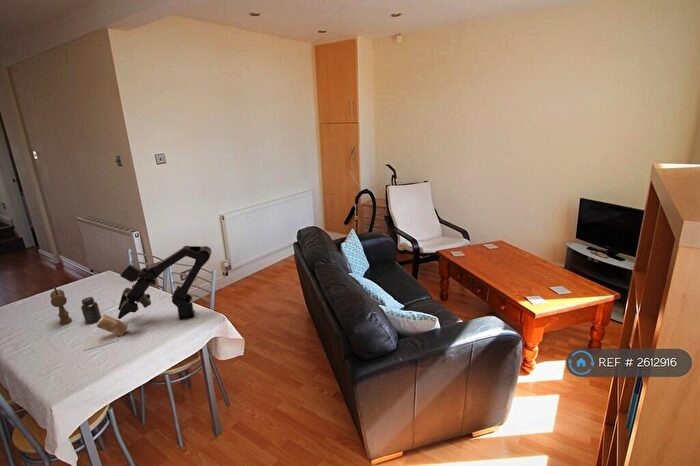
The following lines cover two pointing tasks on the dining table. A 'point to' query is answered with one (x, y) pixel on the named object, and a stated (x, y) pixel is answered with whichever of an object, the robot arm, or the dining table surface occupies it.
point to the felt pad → (99, 340)
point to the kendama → (60, 305)
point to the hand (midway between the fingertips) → (118, 314)
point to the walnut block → (112, 325)
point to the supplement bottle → (90, 310)
